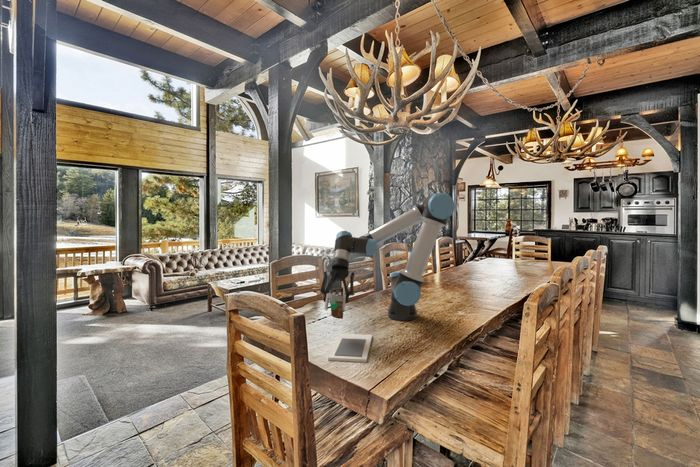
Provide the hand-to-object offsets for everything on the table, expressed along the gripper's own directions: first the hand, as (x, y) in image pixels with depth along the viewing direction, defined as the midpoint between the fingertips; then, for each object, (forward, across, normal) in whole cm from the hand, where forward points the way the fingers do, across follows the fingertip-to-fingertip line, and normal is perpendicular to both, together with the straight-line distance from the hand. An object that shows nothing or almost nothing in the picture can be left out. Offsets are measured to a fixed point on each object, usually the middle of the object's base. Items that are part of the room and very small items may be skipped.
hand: (334, 309), depth 135 cm
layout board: (+13, -8, -6) cm, 16 cm away
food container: (0, 0, -5) cm, 5 cm away
